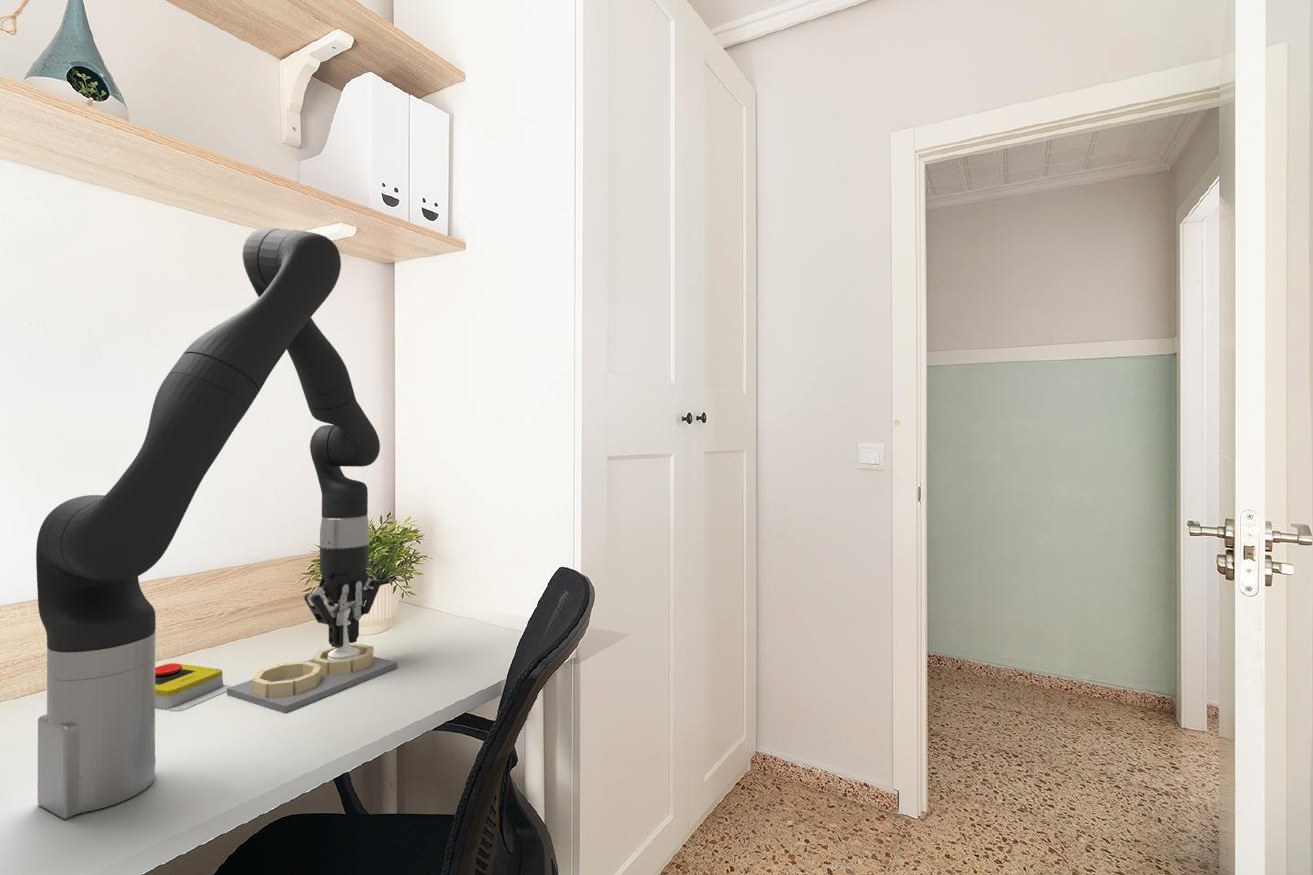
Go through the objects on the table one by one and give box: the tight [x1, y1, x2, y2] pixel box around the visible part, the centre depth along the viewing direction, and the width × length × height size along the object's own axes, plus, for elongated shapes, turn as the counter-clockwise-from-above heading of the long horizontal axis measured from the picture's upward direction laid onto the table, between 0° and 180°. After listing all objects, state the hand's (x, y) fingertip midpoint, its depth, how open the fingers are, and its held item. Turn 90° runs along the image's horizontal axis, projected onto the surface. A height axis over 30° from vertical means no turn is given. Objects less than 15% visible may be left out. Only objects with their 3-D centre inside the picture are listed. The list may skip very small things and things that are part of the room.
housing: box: [226, 643, 398, 714], centre depth 104 cm, size 20×14×3 cm
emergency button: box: [155, 662, 232, 712], centre depth 99 cm, size 9×4×15 cm
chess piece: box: [328, 601, 360, 661], centre depth 108 cm, size 5×5×10 cm
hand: (344, 643), depth 109 cm, fingers closed on chess piece
